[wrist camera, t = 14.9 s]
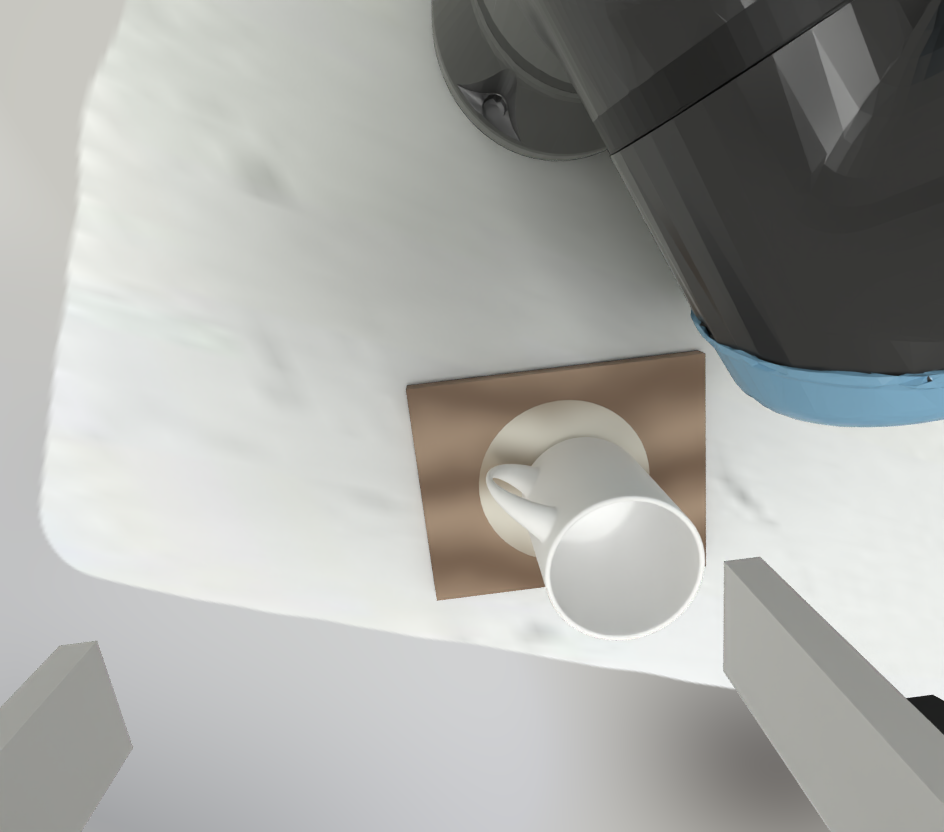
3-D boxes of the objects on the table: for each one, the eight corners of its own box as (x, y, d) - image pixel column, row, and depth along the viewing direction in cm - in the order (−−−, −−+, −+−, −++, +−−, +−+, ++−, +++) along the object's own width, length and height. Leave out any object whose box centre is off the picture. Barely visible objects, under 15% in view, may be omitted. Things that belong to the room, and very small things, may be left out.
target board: (406, 385, 40) (405, 389, 39) (697, 350, 41) (705, 353, 39) (437, 591, 45) (436, 600, 43) (699, 558, 45) (706, 566, 44)
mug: (508, 393, 39) (533, 444, 29) (662, 462, 41) (736, 533, 31) (454, 502, 41) (459, 586, 31) (604, 563, 43) (655, 662, 33)
